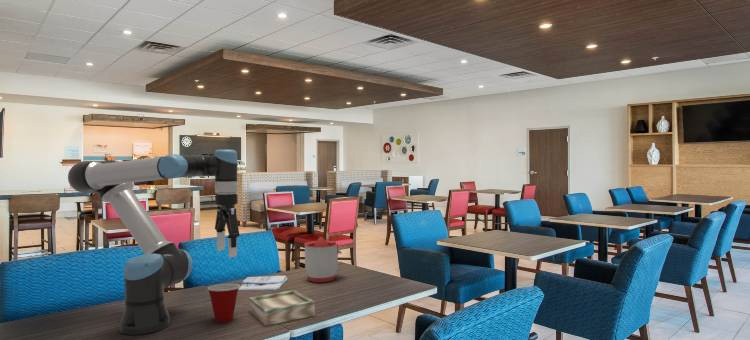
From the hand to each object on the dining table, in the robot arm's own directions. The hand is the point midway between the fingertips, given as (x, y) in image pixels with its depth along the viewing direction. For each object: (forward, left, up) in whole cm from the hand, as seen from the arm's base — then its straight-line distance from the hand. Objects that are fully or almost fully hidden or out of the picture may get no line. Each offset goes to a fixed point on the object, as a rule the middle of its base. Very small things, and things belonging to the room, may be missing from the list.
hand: (226, 253), depth 162 cm
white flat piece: (+24, +36, -24) cm, 49 cm away
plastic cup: (-2, -2, -23) cm, 23 cm away
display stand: (+17, -7, -23) cm, 29 cm away
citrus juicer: (+50, +27, -23) cm, 62 cm away
